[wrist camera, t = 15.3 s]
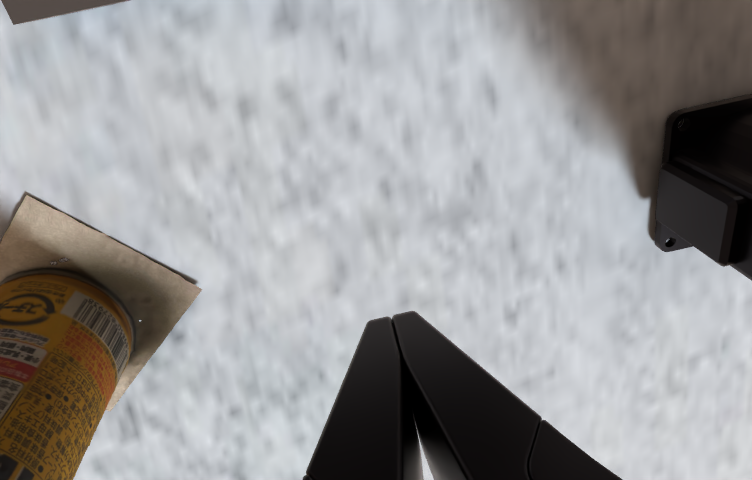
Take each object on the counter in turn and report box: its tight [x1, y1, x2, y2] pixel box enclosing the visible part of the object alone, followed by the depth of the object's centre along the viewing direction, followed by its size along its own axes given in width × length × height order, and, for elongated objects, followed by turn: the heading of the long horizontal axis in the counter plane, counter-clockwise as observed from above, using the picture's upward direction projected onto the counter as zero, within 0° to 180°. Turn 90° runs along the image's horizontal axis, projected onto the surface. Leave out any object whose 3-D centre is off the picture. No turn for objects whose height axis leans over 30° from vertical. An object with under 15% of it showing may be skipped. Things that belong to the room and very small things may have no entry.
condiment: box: [0, 195, 202, 480], centre depth 16 cm, size 7×8×12 cm
